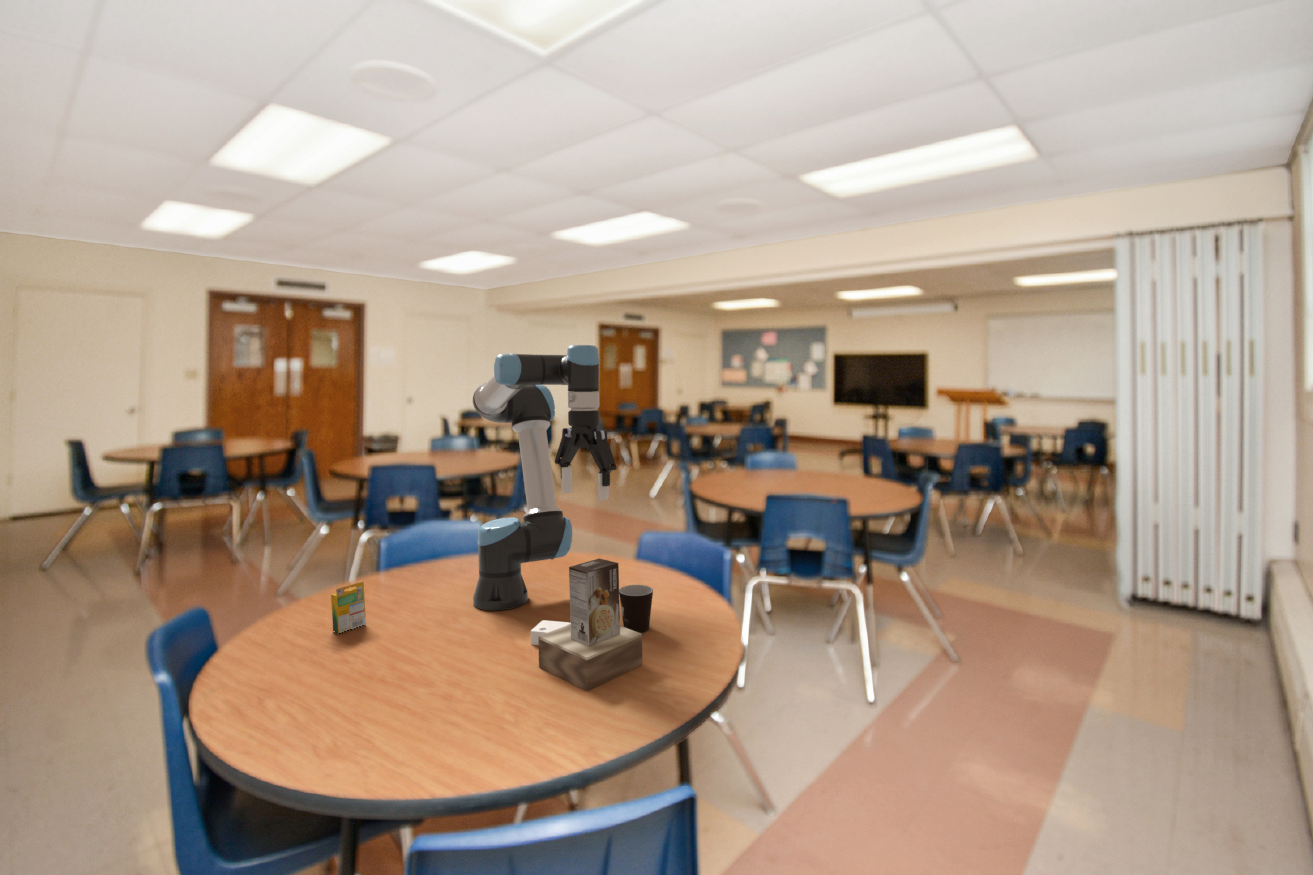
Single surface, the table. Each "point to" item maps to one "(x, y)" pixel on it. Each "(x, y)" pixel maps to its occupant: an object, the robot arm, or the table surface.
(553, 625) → the bracket
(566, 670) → the riser block
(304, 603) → the table surface
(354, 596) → the crayon box
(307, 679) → the table surface
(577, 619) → the coffee box
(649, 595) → the coffee mug
